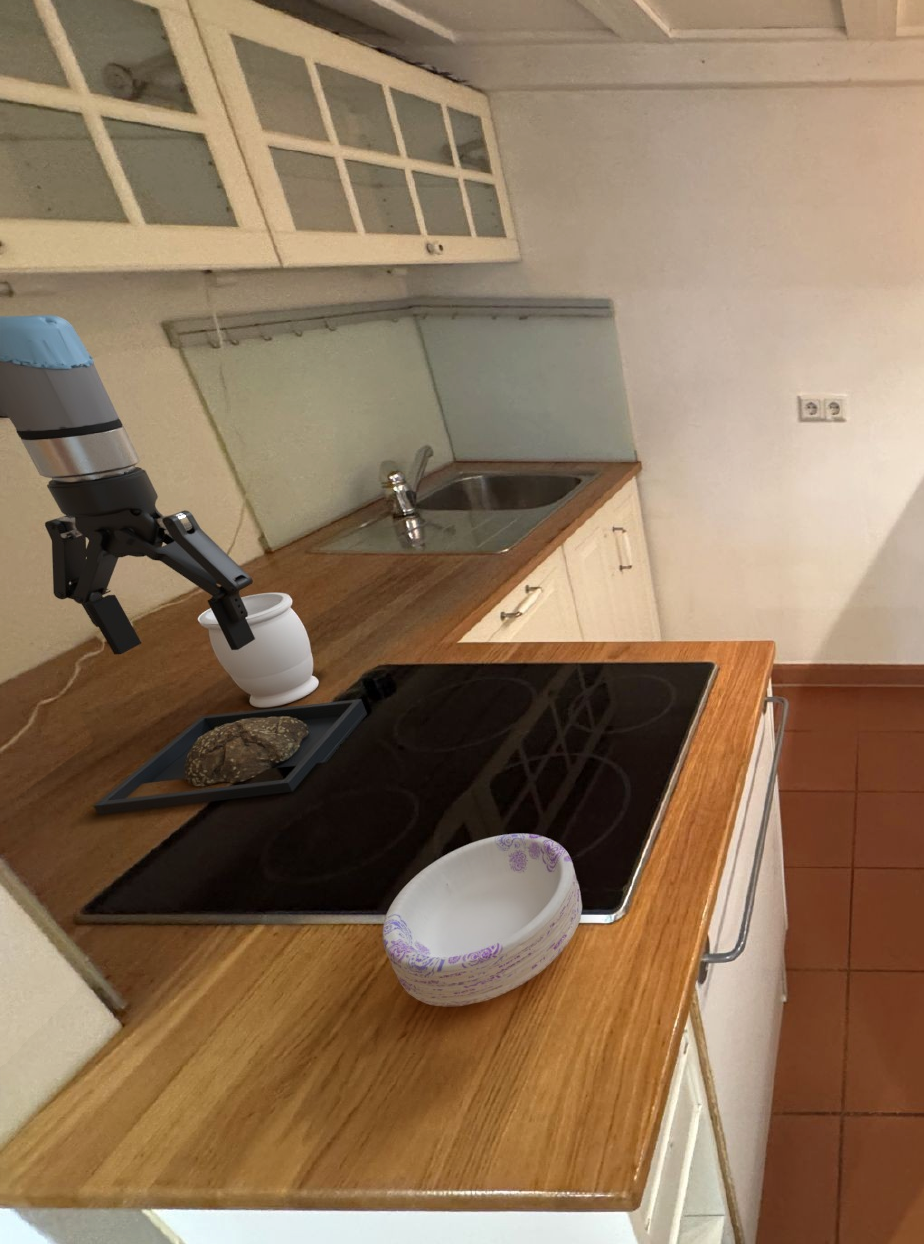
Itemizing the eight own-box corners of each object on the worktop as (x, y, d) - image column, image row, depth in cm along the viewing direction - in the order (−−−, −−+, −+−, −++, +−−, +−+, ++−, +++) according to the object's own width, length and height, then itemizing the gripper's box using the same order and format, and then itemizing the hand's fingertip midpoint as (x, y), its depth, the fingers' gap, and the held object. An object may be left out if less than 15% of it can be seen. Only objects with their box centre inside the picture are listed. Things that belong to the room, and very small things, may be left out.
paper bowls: (608, 883, 72) (593, 825, 68) (555, 1026, 58) (533, 963, 55) (460, 891, 71) (437, 833, 68) (371, 1037, 58) (337, 974, 54)
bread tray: (104, 822, 82) (92, 805, 81) (209, 730, 98) (201, 715, 97) (296, 799, 85) (287, 782, 84) (367, 713, 101) (361, 698, 100)
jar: (254, 721, 100) (208, 630, 94) (233, 698, 106) (188, 610, 99) (338, 688, 108) (301, 602, 101) (314, 669, 113) (278, 585, 107)
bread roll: (208, 744, 94) (192, 713, 92) (316, 721, 99) (303, 692, 97) (166, 802, 84) (146, 770, 82) (289, 774, 88) (274, 742, 86)
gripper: (241, 460, 77) (312, 628, 87) (13, 467, 77) (109, 635, 86) (184, 478, 71) (268, 658, 80) (-67, 486, 70) (47, 666, 79)
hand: (186, 647), depth 83 cm, fingers open, 13 cm apart
